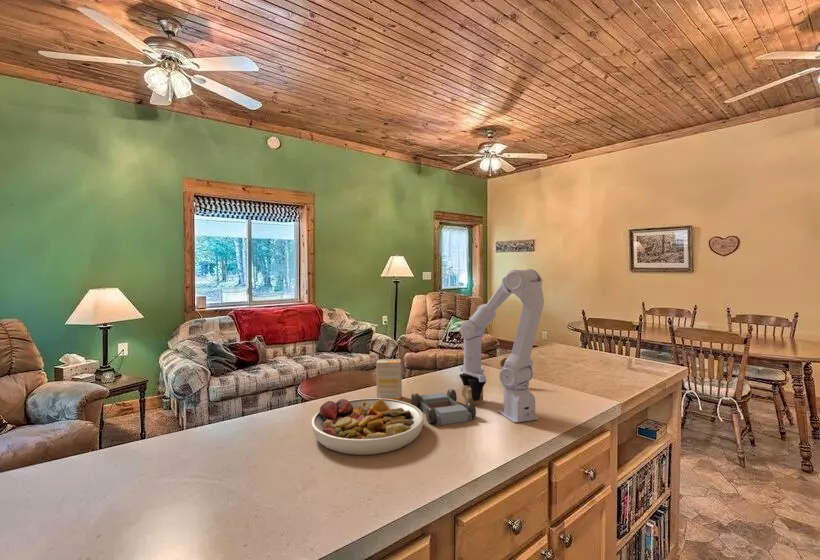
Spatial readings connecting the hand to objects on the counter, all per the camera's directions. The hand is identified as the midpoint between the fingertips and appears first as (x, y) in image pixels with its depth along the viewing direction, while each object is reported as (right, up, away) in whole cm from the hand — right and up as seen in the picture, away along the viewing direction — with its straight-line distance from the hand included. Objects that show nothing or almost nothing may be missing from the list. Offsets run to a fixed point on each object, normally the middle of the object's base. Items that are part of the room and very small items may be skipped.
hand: (472, 397), depth 136 cm
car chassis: (-11, -2, -9) cm, 14 cm away
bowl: (-32, -3, -24) cm, 40 cm away
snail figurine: (+16, -1, +18) cm, 24 cm away
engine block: (0, -1, 0) cm, 1 cm away
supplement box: (-28, -2, +5) cm, 28 cm away
